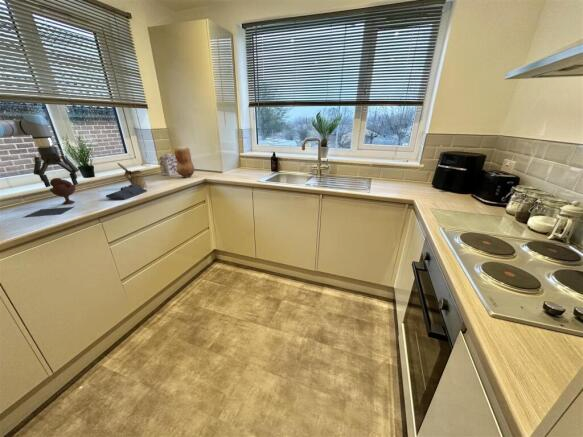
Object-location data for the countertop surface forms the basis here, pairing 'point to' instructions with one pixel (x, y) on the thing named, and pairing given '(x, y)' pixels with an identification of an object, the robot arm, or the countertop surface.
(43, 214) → the placemat
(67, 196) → the ice cream bowl
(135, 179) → the tan handled pot
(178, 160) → the butternut squash
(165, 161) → the decorative jar
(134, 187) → the dark slate chunk
